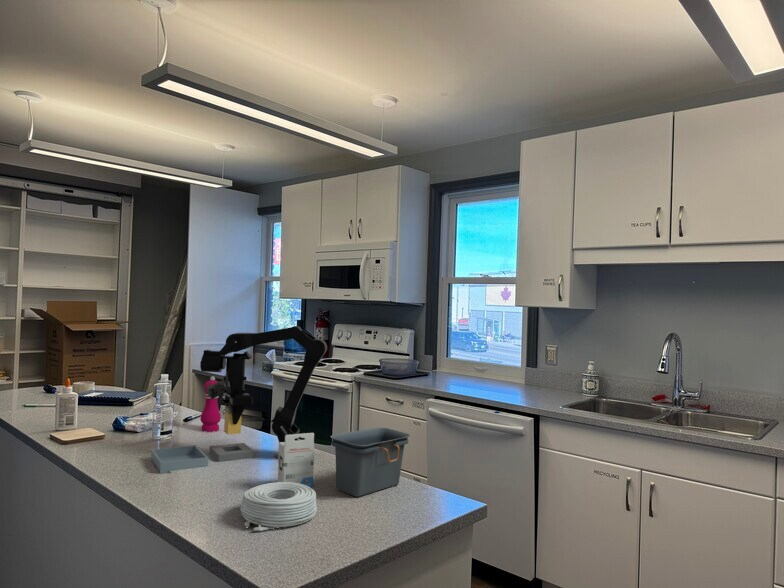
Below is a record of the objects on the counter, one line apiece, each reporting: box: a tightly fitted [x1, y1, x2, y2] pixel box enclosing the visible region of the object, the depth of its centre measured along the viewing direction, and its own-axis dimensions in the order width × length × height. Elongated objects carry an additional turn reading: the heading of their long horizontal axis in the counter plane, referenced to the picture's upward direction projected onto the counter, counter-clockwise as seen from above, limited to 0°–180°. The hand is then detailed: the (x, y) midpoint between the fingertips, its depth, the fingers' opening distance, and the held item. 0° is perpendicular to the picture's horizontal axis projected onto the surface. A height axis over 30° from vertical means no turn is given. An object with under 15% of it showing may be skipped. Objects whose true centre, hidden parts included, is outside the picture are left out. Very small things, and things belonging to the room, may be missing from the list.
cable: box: [240, 481, 318, 532], centre depth 131 cm, size 18×18×6 cm
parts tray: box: [150, 445, 209, 475], centre depth 166 cm, size 15×13×3 cm
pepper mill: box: [200, 375, 222, 433], centre depth 208 cm, size 7×7×20 cm
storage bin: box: [329, 427, 411, 497], centre depth 152 cm, size 21×16×14 cm
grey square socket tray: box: [208, 442, 256, 463], centre depth 176 cm, size 11×11×2 cm
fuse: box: [223, 405, 242, 435], centre depth 176 cm, size 4×4×8 cm
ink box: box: [277, 432, 315, 488], centre depth 151 cm, size 9×5×15 cm, turn 117°
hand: (232, 422), depth 176 cm, fingers closed on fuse, 4 cm apart
